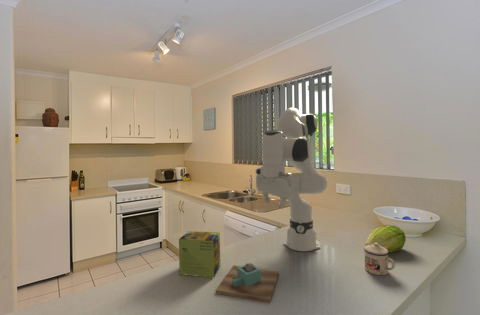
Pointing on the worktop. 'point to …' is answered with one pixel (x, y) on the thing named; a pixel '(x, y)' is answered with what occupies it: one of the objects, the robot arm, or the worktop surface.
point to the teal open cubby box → (247, 276)
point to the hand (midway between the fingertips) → (274, 205)
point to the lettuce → (387, 238)
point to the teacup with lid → (377, 259)
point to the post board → (253, 292)
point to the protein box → (199, 253)
